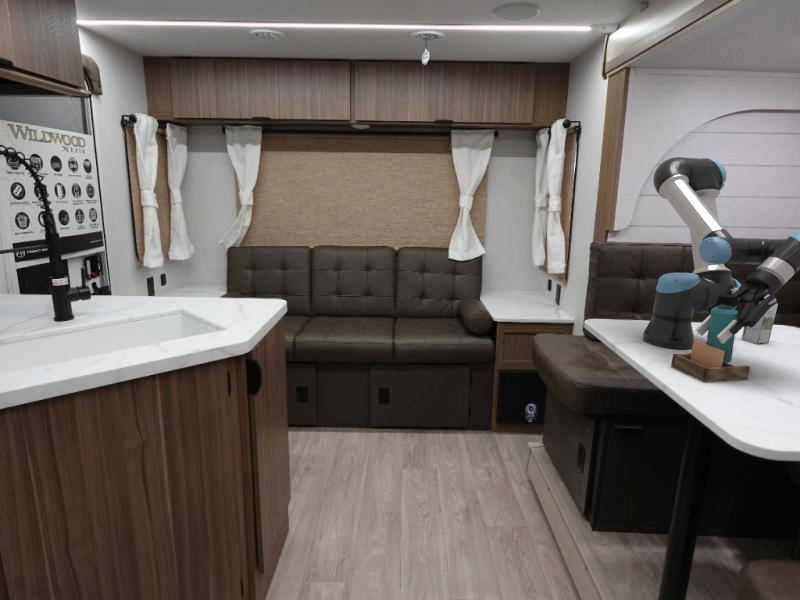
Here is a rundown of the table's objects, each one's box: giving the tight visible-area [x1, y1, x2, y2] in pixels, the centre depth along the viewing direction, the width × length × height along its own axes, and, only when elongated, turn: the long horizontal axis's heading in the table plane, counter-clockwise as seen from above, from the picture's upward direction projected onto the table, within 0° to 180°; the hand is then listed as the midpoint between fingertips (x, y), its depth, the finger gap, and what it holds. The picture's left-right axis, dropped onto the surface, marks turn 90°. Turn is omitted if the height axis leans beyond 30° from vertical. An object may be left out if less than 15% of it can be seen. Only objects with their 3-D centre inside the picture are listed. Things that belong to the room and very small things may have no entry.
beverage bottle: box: [705, 294, 739, 364], centre depth 135 cm, size 6×7×20 cm
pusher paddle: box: [690, 339, 725, 367], centre depth 136 cm, size 1×9×7 cm, turn 13°
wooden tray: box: [670, 352, 751, 383], centre depth 137 cm, size 14×12×4 cm
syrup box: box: [741, 302, 779, 345], centre depth 168 cm, size 6×6×14 cm
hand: (709, 336), depth 134 cm, fingers closed on beverage bottle, 6 cm apart
